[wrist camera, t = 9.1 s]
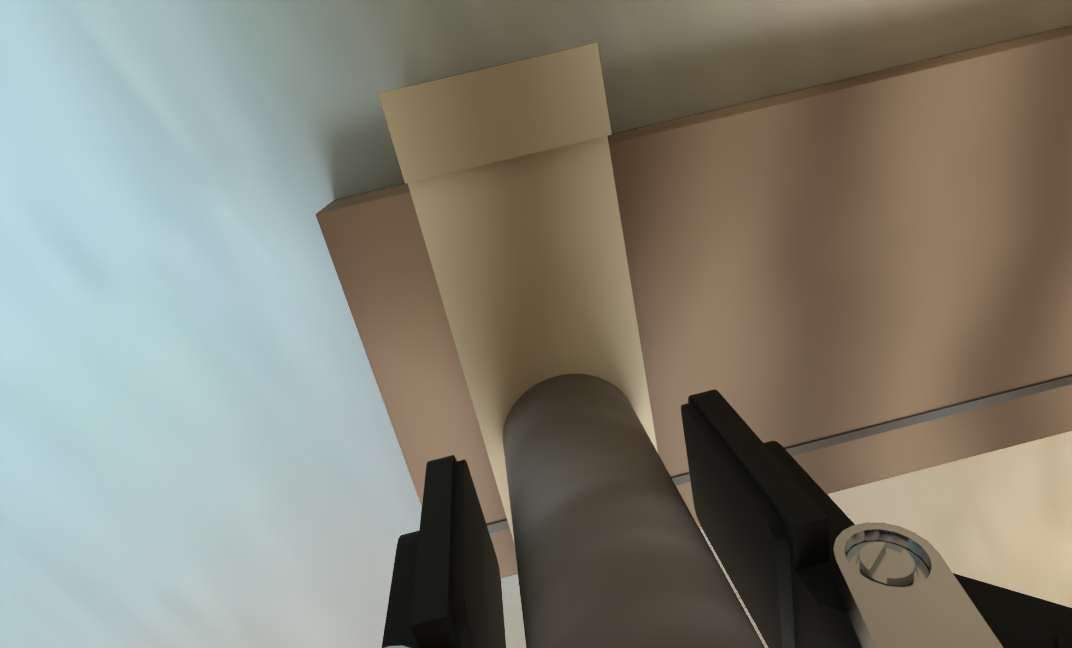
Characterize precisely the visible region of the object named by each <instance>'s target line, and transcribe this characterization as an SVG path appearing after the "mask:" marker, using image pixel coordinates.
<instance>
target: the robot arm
mask: <svg viewBox="0 0 1072 648" xmlns="http://www.w3.org/2000/svg"><path fill="white" fill-rule="evenodd" d="M681 415H682V422H683V430H684V437H685V444H686V452H687V459H688V466H689V473H690V481H691V488H692V495H693V503H694V509H695V512H696V515H697V518H698V521H699V523H700V525H701V527H702V529H703V530H704V532H705V534H706V536H707V538H708V539H709V541H710V543H711V545H712V547H713V548H714V550H715V552H716V554H717V556H718V557H719V559H720V561H721V563H722V565H723V566H724V568H725V570H726V572H727V574H728V575H729V577H730V579H731V581H732V582H733V584H734V586H735V588H736V590H737V591H738V593H739V595H740V597H741V599H742V600H743V602H744V604H745V606H746V608H747V609H748V611H749V613H750V615H751V617H752V618H753V620H754V622H755V624H756V626H757V627H758V629H759V631H760V633H761V635H762V636H763V638H764V640H765V642H766V644H767V645H768V647H769V648H1072V608H1069V607H1066V606H1063V605H1059V604H1056V603H1052V602H1049V601H1046V600H1042V599H1039V598H1035V597H1032V596H1029V595H1025V594H1022V593H1018V592H1015V591H1011V590H1008V589H1005V588H1001V587H998V586H994V585H991V584H988V583H984V582H981V581H977V580H974V579H971V578H967V577H964V576H960V575H957V574H953V573H952V571H951V570H950V569H949V567H948V566H947V564H946V563H945V561H944V560H943V558H942V557H941V555H940V554H939V553H938V551H937V550H936V549H935V548H934V547H933V546H932V545H931V544H930V543H929V542H928V541H927V540H925V539H924V538H922V537H921V536H919V535H918V534H916V533H914V532H912V531H909V530H907V529H904V528H902V527H900V526H895V525H890V524H886V523H862V524H857V525H855V524H854V523H853V522H852V521H851V520H850V519H849V518H848V517H847V516H846V515H845V514H844V513H843V511H842V510H841V509H840V508H839V507H838V506H837V505H836V504H835V503H834V502H833V501H832V499H831V498H830V497H829V496H828V495H827V494H826V493H825V492H824V491H823V490H822V489H821V487H820V486H819V485H818V484H817V483H816V482H815V481H814V480H813V479H812V478H811V477H810V476H809V474H808V473H807V472H806V471H805V470H804V469H803V468H802V467H801V466H800V465H799V464H798V462H797V461H796V460H795V459H794V458H793V457H792V456H791V455H790V454H789V453H788V452H787V451H786V449H785V448H784V447H783V446H782V445H781V444H779V443H778V442H777V441H769V442H765V443H763V442H762V441H761V440H760V438H759V437H758V436H757V435H756V434H755V433H754V432H753V430H752V429H751V428H750V427H749V426H748V425H747V424H746V422H745V421H744V420H743V419H742V418H741V417H740V416H739V414H738V413H737V412H736V411H735V410H734V409H733V408H732V406H731V405H730V404H729V403H728V402H727V401H726V400H725V398H724V397H723V396H722V395H721V394H720V393H719V392H718V391H717V390H716V389H714V390H710V391H706V392H702V393H698V394H694V395H690V396H689V397H688V403H687V404H683V405H681ZM382 648H506V642H505V629H504V616H503V603H502V590H501V577H500V570H499V564H498V560H497V556H496V553H495V550H494V547H493V543H492V540H491V537H490V534H489V531H488V528H487V524H486V521H485V518H484V515H483V512H482V509H481V505H480V502H479V499H478V496H477V493H476V489H475V486H474V483H473V480H472V477H471V474H470V470H469V467H468V464H467V462H466V460H465V459H464V460H460V461H457V460H456V458H455V456H454V455H451V456H447V457H443V458H439V459H435V460H431V461H428V462H427V465H426V474H425V483H424V493H423V503H422V513H421V523H420V531H416V532H412V533H408V534H405V535H401V536H400V537H399V540H398V543H397V549H396V556H395V563H394V570H393V576H392V583H391V590H390V596H389V603H388V610H387V617H386V623H385V630H384V637H383V643H382Z"/></svg>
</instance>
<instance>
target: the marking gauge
mask: <svg viewBox="0 0 1072 648" xmlns="http://www.w3.org/2000/svg"><path fill="white" fill-rule="evenodd" d="M378 95H379V99H380V102H381V105H382V109H383V112H384V115H385V119H386V122H387V125H388V129H389V132H390V135H391V139H392V142H393V146H394V149H395V152H396V156H397V159H398V162H399V166H400V169H401V172H402V176H403V179H404V182H405V183H408V187H409V190H410V193H411V197H412V200H413V203H414V207H415V210H416V214H417V217H418V220H419V224H420V227H421V230H422V234H423V237H424V241H425V244H426V247H427V251H428V254H429V257H430V261H431V264H432V268H433V271H434V274H435V278H436V281H437V284H438V288H439V291H440V295H441V298H442V301H443V305H444V308H445V311H446V315H447V318H448V322H449V325H450V328H451V332H452V335H453V338H454V342H455V345H456V349H457V352H458V355H459V359H460V362H461V365H462V369H463V372H464V376H465V379H466V382H467V386H468V389H469V392H470V396H471V399H472V403H473V406H474V409H475V413H476V416H477V419H478V423H479V426H480V430H481V433H482V436H483V440H484V443H485V446H486V450H487V453H488V457H489V460H490V463H491V467H492V470H493V474H494V477H495V480H496V484H497V487H498V490H499V494H500V497H501V501H502V504H503V507H504V511H505V514H506V517H507V521H508V524H509V528H510V531H511V534H512V538H513V541H514V544H515V551H516V560H517V569H518V578H519V586H520V595H521V604H522V612H523V621H524V630H525V638H526V647H527V648H765V647H764V645H763V644H762V642H761V640H760V638H759V636H758V635H757V633H756V631H755V629H754V627H753V625H752V624H751V622H750V620H749V618H748V616H747V615H746V613H745V611H744V609H743V607H742V605H741V604H740V602H739V600H738V598H737V596H736V594H735V593H734V591H733V589H732V587H731V585H730V584H729V582H728V580H727V578H726V576H725V574H724V573H723V571H722V569H721V567H720V565H719V564H718V562H717V560H716V558H715V556H714V554H713V553H712V551H711V549H710V547H709V545H708V544H707V542H706V540H705V538H704V536H703V534H702V533H701V531H700V529H699V527H698V525H697V523H696V522H695V520H694V518H693V516H692V514H691V513H690V511H689V509H688V507H687V505H686V503H685V502H684V500H683V498H682V496H681V494H680V493H679V491H678V489H677V487H676V485H675V483H674V482H673V480H672V478H671V476H670V474H669V473H668V471H667V469H666V467H665V465H664V463H663V462H662V460H661V458H660V456H659V454H658V450H657V443H656V437H655V431H654V425H653V418H652V412H651V406H650V400H649V393H648V387H647V381H646V375H645V368H644V362H643V356H642V350H641V343H640V337H639V331H638V325H637V318H636V312H635V306H634V300H633V293H632V287H631V281H630V275H629V268H628V262H627V256H626V250H625V243H624V237H623V231H622V225H621V218H620V212H619V206H618V200H617V193H616V187H615V181H614V175H613V168H612V162H611V156H610V150H609V143H608V137H607V136H608V135H612V133H611V127H610V120H609V114H608V107H607V101H606V95H605V88H604V82H603V76H602V69H601V63H600V57H599V50H598V44H597V43H593V44H589V45H585V46H580V47H576V48H572V49H567V50H563V51H559V52H555V53H550V54H546V55H542V56H537V57H533V58H529V59H524V60H520V61H516V62H511V63H507V64H503V65H499V66H494V67H490V68H486V69H481V70H477V71H473V72H468V73H464V74H460V75H455V76H451V77H447V78H443V79H438V80H434V81H430V82H425V83H421V84H417V85H412V86H408V87H404V88H399V89H395V90H391V91H387V92H382V93H378Z"/></svg>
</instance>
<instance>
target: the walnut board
mask: <svg viewBox="0 0 1072 648" xmlns="http://www.w3.org/2000/svg"><path fill="white" fill-rule="evenodd" d="M607 137H608V143H609V150H610V156H611V162H612V168H613V175H614V181H615V187H616V193H617V200H618V206H619V212H620V218H621V225H622V231H623V237H624V243H625V250H626V256H627V262H628V268H629V275H630V281H631V287H632V293H633V300H634V306H635V312H636V318H637V325H638V331H639V337H640V343H641V350H642V356H643V362H644V368H645V375H646V381H647V387H648V393H649V400H650V406H651V412H652V418H653V425H654V431H655V437H656V443H657V450H658V454H659V456H660V458H661V460H662V462H663V463H664V465H665V467H666V469H667V471H668V473H669V474H670V476H671V478H672V480H673V482H674V483H675V485H676V487H677V489H678V491H679V493H680V494H681V496H682V498H683V500H684V502H685V503H686V505H687V507H688V509H689V511H690V513H691V514H692V516H693V518H694V520H695V522H696V523H697V525H698V527H701V525H700V523H699V521H698V518H697V515H696V512H695V509H694V503H693V495H692V488H691V481H690V473H689V466H688V459H687V452H686V444H685V437H684V430H683V422H682V415H681V405H683V404H687V403H688V397H689V396H690V395H694V394H698V393H702V392H706V391H710V390H714V389H716V390H717V391H718V392H719V393H720V394H721V395H722V396H723V397H724V398H725V400H726V401H727V402H728V403H729V404H730V405H731V406H732V408H733V409H734V410H735V411H736V412H737V413H738V414H739V416H740V417H741V418H742V419H743V420H744V421H745V422H746V424H747V425H748V426H749V427H750V428H751V429H752V430H753V432H754V433H755V434H756V435H757V436H758V437H759V438H760V440H761V441H762V442H763V443H765V442H769V441H777V442H778V443H779V444H781V445H782V446H783V447H784V448H785V449H786V451H787V452H788V453H789V454H790V455H791V456H792V457H793V458H794V459H795V460H796V461H797V462H798V464H799V465H800V466H801V467H802V468H803V469H804V470H805V471H806V472H807V473H808V474H809V476H810V477H811V478H812V479H813V480H814V481H815V482H816V483H817V484H818V485H819V486H820V487H821V489H822V490H823V491H824V492H825V493H826V494H829V493H832V492H836V491H840V490H844V489H848V488H852V487H856V486H860V485H863V484H867V483H871V482H875V481H879V480H883V479H887V478H890V477H894V476H898V475H902V474H906V473H910V472H914V471H918V470H921V469H925V468H929V467H933V466H937V465H941V464H945V463H948V462H952V461H956V460H960V459H964V458H968V457H972V456H976V455H979V454H983V453H987V452H991V451H995V450H999V449H1003V448H1007V447H1010V446H1014V445H1018V444H1022V443H1026V442H1030V441H1034V440H1037V439H1041V438H1045V437H1049V436H1053V435H1057V434H1061V433H1065V432H1068V431H1072V26H1068V27H1064V28H1059V29H1055V30H1051V31H1047V32H1042V33H1038V34H1034V35H1030V36H1026V37H1021V38H1017V39H1013V40H1009V41H1005V42H1000V43H996V44H992V45H988V46H983V47H979V48H975V49H971V50H967V51H962V52H958V53H954V54H950V55H945V56H941V57H937V58H933V59H929V60H924V61H920V62H916V63H912V64H907V65H903V66H899V67H895V68H891V69H886V70H882V71H878V72H874V73H870V74H865V75H861V76H857V77H853V78H848V79H844V80H840V81H836V82H832V83H827V84H823V85H819V86H815V87H810V88H806V89H802V90H798V91H794V92H789V93H785V94H781V95H777V96H773V97H768V98H764V99H760V100H756V101H751V102H747V103H743V104H739V105H735V106H730V107H726V108H722V109H718V110H713V111H709V112H705V113H701V114H697V115H692V116H688V117H684V118H680V119H675V120H671V121H667V122H663V123H659V124H654V125H650V126H646V127H642V128H638V129H633V130H629V131H625V132H621V133H616V134H612V135H608V136H607ZM316 217H317V219H318V222H319V225H320V228H321V230H322V233H323V236H324V239H325V241H326V244H327V247H328V250H329V252H330V255H331V258H332V261H333V263H334V266H335V269H336V272H337V274H338V277H339V280H340V283H341V285H342V288H343V291H344V294H345V296H346V299H347V302H348V305H349V307H350V310H351V313H352V316H353V318H354V321H355V324H356V327H357V329H358V332H359V335H360V338H361V340H362V343H363V346H364V349H365V351H366V354H367V357H368V360H369V362H370V365H371V368H372V371H373V373H374V376H375V379H376V382H377V384H378V387H379V390H380V393H381V395H382V398H383V401H384V403H385V406H386V409H387V412H388V414H389V417H390V420H391V423H392V425H393V428H394V431H395V434H396V436H397V439H398V442H399V445H400V447H401V450H402V453H403V456H404V458H405V461H406V464H407V467H408V469H409V472H410V475H411V478H412V480H413V483H414V486H415V489H416V491H417V494H418V497H419V500H420V502H421V505H422V503H423V493H424V483H425V474H426V465H427V462H428V461H431V460H435V459H439V458H443V457H447V456H451V455H454V456H455V458H456V460H457V461H460V460H464V459H465V460H466V462H467V464H468V467H469V470H470V474H471V477H472V480H473V483H474V486H475V489H476V493H477V496H478V499H479V502H480V505H481V509H482V512H483V515H484V518H485V521H486V524H487V528H488V531H489V534H490V537H491V540H492V543H493V547H494V550H495V553H496V556H497V560H498V564H499V570H500V577H501V578H504V577H508V576H512V575H515V574H518V569H517V560H516V551H515V544H514V541H513V538H512V534H511V531H510V528H509V524H508V521H507V517H506V514H505V511H504V507H503V504H502V501H501V497H500V494H499V490H498V487H497V484H496V480H495V477H494V474H493V470H492V467H491V463H490V460H489V457H488V453H487V450H486V446H485V443H484V440H483V436H482V433H481V430H480V426H479V423H478V419H477V416H476V413H475V409H474V406H473V403H472V399H471V396H470V392H469V389H468V386H467V382H466V379H465V376H464V372H463V369H462V365H461V362H460V359H459V355H458V352H457V349H456V345H455V342H454V338H453V335H452V332H451V328H450V325H449V322H448V318H447V315H446V311H445V308H444V305H443V301H442V298H441V295H440V291H439V288H438V284H437V281H436V278H435V274H434V271H433V268H432V264H431V261H430V257H429V254H428V251H427V247H426V244H425V241H424V237H423V234H422V230H421V227H420V224H419V220H418V217H417V214H416V210H415V207H414V203H413V200H412V197H411V193H410V190H409V187H408V183H406V184H401V185H397V186H393V187H389V188H384V189H380V190H376V191H372V192H368V193H363V194H359V195H355V196H351V197H346V198H342V199H338V200H334V201H332V202H331V203H330V204H329V205H327V206H326V207H325V208H323V209H322V210H321V211H320V212H318V213H317V214H316Z"/></svg>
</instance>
